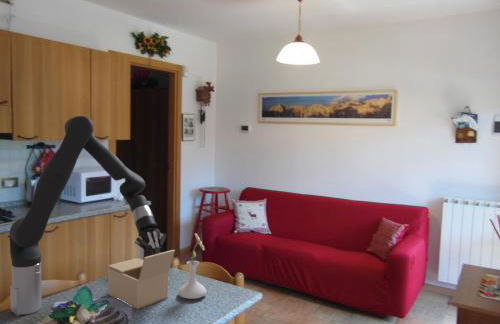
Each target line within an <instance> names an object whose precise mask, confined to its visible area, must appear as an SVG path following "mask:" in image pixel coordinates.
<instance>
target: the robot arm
mask: <svg viewBox="0 0 500 324" xmlns="http://www.w3.org/2000/svg"><path fill="white" fill-rule="evenodd" d="M64 132H65V135H64V137H63V140H62V142H61V143H60V146H59V148H58V149H57V150H56V152H55V153H54V154H53V155H52V157H51V158H50V159H49V161H48V162H47V163H46V165H45V167H44V169H43V170H42V172H41V174H40V175H39V176H40V177H38V179H37V183H36V185H35V189H34V193H33V197H32V198H33V199H32V202H31V205H30V207H29V210H28V212H27V213H26V215H25V217H24V218H23V217H22V218H19V219H17V220H16V221H14V222H13V223H12V224H11V226H10V229H9V253H10V258H11V259H10V260H11V283H12V284H11V285H9V287H10V288H9V293H10V294H9V296H10V301H9V302H10V312H12V313H13V314H14V315H15V316H23V315H29V314H33V313H36V312H38V311H40V310H41V309H42V304H43V302H42V301H43V300H42V256H41V252H40V248H39V247H40V246H39V243H40V241H41V240H42V238H43V235H44V234H45V230H46V228H47V225H48V222H49V219H50V217H51V215H52V213H53V211H54V209H55V207H56V205H57V203H58V201H59V199H60V198H61V196H62V194H63V191H64V190H65V188H66V186H67V185H68V182H69V180H70V177H71V175H72V173H73V171H74V169H75V167H76V164H77V161H78V160H79V159H78V158H79V156H80V154H81V152H82V151H83V149H84V150H85V151H86V152H87V153H88V154H89V155H90V157H92V158H93V159H94V160H95V161H96V162H97V163H98V164H99V166H100V167H101V168H102V169H103V170H104V171H105V172H106V173H107V174H108V176H109V177H111V178H112V180H114V181H121V180H123V179H124V180H126V181H124V182H122V183H121V184H120V185H119V193H120V194H121V196H122V197H123V198H124V199H125V201H126V203H127V204H128V205H129V207H130V211H131V214H132V217H133V221H134V225H135V227H136V230H137V233H138V237H136V239H135V241H134V244H136V245H137V246H138V245H139V246H140V247H141V248H143V249H144V250H146V251H151V253H152V255H155V254H159V253H162V252H161V248H162V246H163V245H164V243H165V240H166V238H167V233H161V231H160V230H159V229H158V225H157V222H156V220H155V217H154V214H153V211H152V210H151V207H150V206H149V202H148V200H147V198H146V196H145V195H143V194H140V193H141V192H143V191H144V190H145V188H146V181H145V180H144V178H142V176H140V175H139V174H138V173H136V172H134V171H132V170H131V169H129V168H128V167H127V165H125V164H124V163H123V161H122V160H120V159H119V158H118V156H116V154H114V152H112V151H111V150H109V148H107V147H106V146H105V145H104V144H102V142H101V141H100V140H99V139H98V138H97V136H95V134H94V123H93V121H92V120H91V119H90V118H89V117H88V116H85V115H78V116H77V115H76V116H73V117H71V118H69V119H68V120H67V121H66V122H65V123H64ZM137 194H140V195H137Z"/></svg>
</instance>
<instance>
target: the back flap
mask: <svg viewBox="0 0 500 324" xmlns="http://www.w3.org/2000/svg"><path fill="white" fill-rule="evenodd" d="M143 261H144V260H142V259H139V258H138V257H135V258H132V259H129V260H124V261H120V262H116V263H112V264H108V266H107V267H108V268H112V269H114V270H117V271H119V272H121V273H124V272H127V271H131V270H134V269H138V268H141V267H142V265H143Z"/></svg>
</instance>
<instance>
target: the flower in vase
mask: <svg viewBox="0 0 500 324" xmlns="http://www.w3.org/2000/svg"><path fill="white" fill-rule="evenodd" d="M194 237H195V240H196V244H195V245H194V247H193V250H192V256H191V257H190V258H189V259H191V260H188V261H186V264H187V266H188V268H189V269H188V271H189V280H188V281H187V282H185V284H184V285H182V286H181V287H180V288H179V289H178V291H177V292H178V293H177V294H178V295H179V296H180V297H181V298H183V299H188V300H195V299H200V298H202V297H204V296H205V295H206V294H207V289H206V288H205V285H203V284H201V283H199V282H198V281H197V278H196V271H197V268H198V266H199V264H200V261H197V260H194V259H195V258H197V253H196V251H195V249H196V247H197V246H198V245H199V247H200V248H201V249H202V251H205V250H206V249H205V246H204V245H203V241H202V240H201V239H200V237H199V235H198V233H194Z"/></svg>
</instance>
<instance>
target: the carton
mask: <svg viewBox="0 0 500 324" xmlns="http://www.w3.org/2000/svg"><path fill="white" fill-rule="evenodd" d="M141 269H142V267H141V268H138V269H134V270H131V271H127V272H124V273H121V272H119V271H117V270H114V269H112V268H110V267H108V269H107V275H108V276H107V277H108V278H107V279H108V280H107V286H108V288H107V290H108V291H107V293H108V295H109V296H110V297H112V298H114V299H116V298H119V299H121V300H123V301H125V302H126V303H128V304H129V305H131V306H132V308H134V309H135V310H137V311H138V310H141V309H143V308H146V307H148V306H151V305H154V304H157V303H159V302H162V301H163V300H167V299H168V297H169V296H168V295H169V293H168V292H169V290H168V289H169V287H168V285H169V284H168V283H169V278H168V277H169V272H166V273H163V274H160V275H157V276H153V277H150V278H147V279H144V280H141V281H139V276H140V272H141ZM129 305H128V306H129ZM131 306H130V307H131Z"/></svg>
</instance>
